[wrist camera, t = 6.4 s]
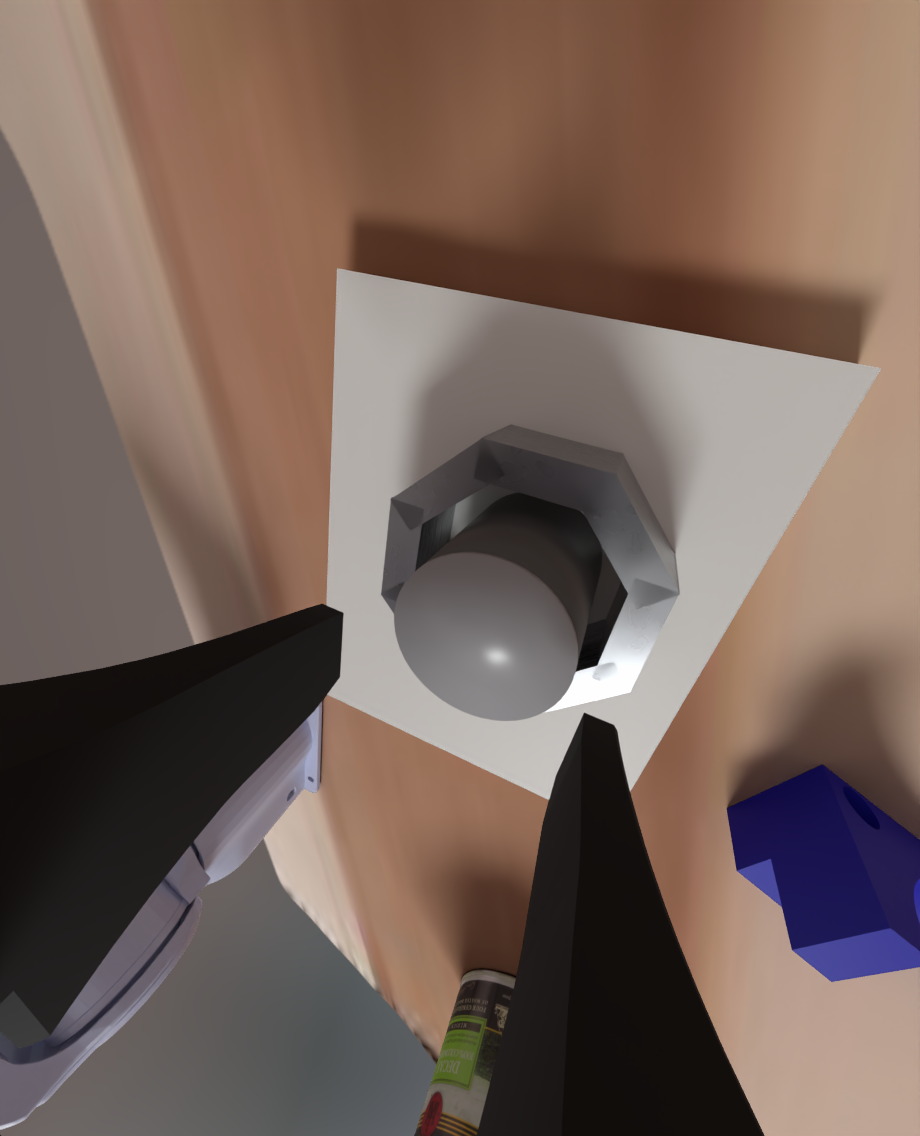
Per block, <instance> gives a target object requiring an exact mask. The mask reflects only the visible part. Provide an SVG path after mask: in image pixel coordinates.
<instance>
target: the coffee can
mask: <svg viewBox="0 0 920 1136" xmlns="http://www.w3.org/2000/svg"><path fill="white" fill-rule="evenodd" d="M515 981H516V977H513V976H511V975H508V974H504V973H501V972H496V971H491V970H473V971H470V972H468V973H466V974H465V975H464V976H463V978H462V980H461V984H460V990H459V993H458V996H457V1000H456V1003H455V1006H454V1010H453V1013H452V1016H451V1019H450V1022H449V1026H448V1029H447V1033H446V1036H445V1039H444V1042H443V1045H442V1049H441V1052H440V1056H439V1059H438V1062H437V1065H436V1069H435V1072H434V1075H433V1078H432V1081H431V1085H430V1088H429V1091H428V1094H427V1097H426V1101H425V1104H424V1107H423V1111H422V1114H421V1117H420V1120H419V1123H418V1126H417V1130H416V1133H415V1135H414V1136H476V1135H477V1132H478V1128H479V1124H480V1120H481V1116H482V1112H483V1108H484V1104H485V1100H486V1097H487V1093H488V1089H489V1085H490V1081H491V1077H492V1073H493V1069H494V1065H495V1061H496V1057H497V1053H498V1049H499V1045H500V1041H501V1037H502V1033H503V1029H504V1025H505V1021H506V1017H507V1013H508V1009H509V1005H510V1001H511V997H512V993H513V989H514V985H515Z"/></svg>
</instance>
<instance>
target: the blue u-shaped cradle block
mask: <svg viewBox="0 0 920 1136" xmlns="http://www.w3.org/2000/svg"><path fill="white" fill-rule="evenodd" d="M727 813H728V819H729V826H730V832H731V838H732V844H733V850H734V856H735V863H736V869H737V871H738V872H739V873H740V874H741V875H743V876H744V877H745V878H746V879H748V880H749V881H750V882H751V883H753V884H754V885H755V886H756V887H758V888H759V889H760V890H761V891H763V892H764V893H765V894H766V895H768V896H769V897H770V898H771V899H773V900H774V901H775V902H776V903H778V904H779V905H780V906H781V907H782V909H783V913H784V918H785V922H786V926H787V930H788V935H789V939H790V943H791V948H792V950H793V951H794V952H795V953H796V954H798V955H799V956H800V957H801V958H803V959H804V960H805V961H806V962H808V963H809V964H810V965H811V966H813V967H814V968H815V969H816V970H818V971H819V972H820V973H821V974H822V975H824V976H825V977H826V978H827V979H829V980H830V981H831V982H834V981H839V980H845V979H851V978H857V977H863V976H869V975H875V974H881V973H887V972H893V971H899V970H905V969H911V968H916V967H920V840H919V839H918V838H916V837H915V836H914V835H913V834H911V833H910V832H909V831H907V830H906V829H905V828H904V827H902V826H901V825H900V824H898V823H897V822H896V821H895V820H893V819H892V818H891V817H889V816H888V815H887V814H886V813H884V812H883V811H882V810H880V809H879V808H878V807H877V806H875V805H874V804H873V803H871V802H870V801H869V800H868V799H866V798H865V797H864V796H862V795H861V794H860V793H859V792H857V791H856V790H855V789H853V788H852V787H851V786H850V785H848V784H847V783H846V782H844V781H843V780H842V779H841V778H839V777H838V776H837V775H835V774H834V773H833V772H832V771H830V770H829V769H828V768H826V767H825V766H824V765H823V764H822V765H820V766H818V767H816V768H814V769H811V770H809V771H807V772H805V773H803V774H801V775H798V776H796V777H794V778H792V779H790V780H787V781H785V782H783V783H781V784H779V785H776V786H774V787H772V788H770V789H768V790H766V791H763V792H761V793H759V794H757V795H755V796H752V797H750V798H748V799H746V800H744V801H741V802H739V803H737V804H735V805H733V806H731V807H728V808H727Z"/></svg>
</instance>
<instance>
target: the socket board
mask: <svg viewBox="0 0 920 1136" xmlns="http://www.w3.org/2000/svg"><path fill="white" fill-rule="evenodd" d="M880 370H881V368H877V367H872V366H866V365H861V364H855V363H850V362H844V361H839V360H834V359H828V358H823V357H817V356H812V355H806V354H801V353H795V352H790V351H785V350H779V349H774V348H768V347H763V346H757V345H752V344H746V343H741V342H735V341H730V340H725V339H719V338H714V337H708V336H703V335H697V334H692V333H686V332H681V331H676V330H670V329H665V328H659V327H654V326H648V325H643V324H637V323H632V322H626V321H621V320H616V319H610V318H605V317H599V316H594V315H588V314H583V313H577V312H572V311H567V310H561V309H556V308H550V307H545V306H539V305H534V304H528V303H523V302H517V301H512V300H507V299H501V298H496V297H490V296H485V295H479V294H474V293H468V292H463V291H458V290H452V289H447V288H441V287H436V286H430V285H425V284H419V283H414V282H409V281H403V280H398V279H392V278H387V277H381V276H376V275H370V274H365V273H359V272H354V271H349V270H343V269H338V268H337V290H336V321H335V353H334V385H333V417H332V449H331V481H330V513H329V544H328V576H327V606H329V607H331V608H334V609H336V610H338V611H341V612H343V613H344V615H343V633H342V651H341V669H340V678H339V679H338V680H337V682H336V683H335V685H334V686H333V687H332V689H331V690H330V691H329V693H328V694H327V695H329V696H331V697H333V698H336V699H338V700H340V701H342V702H344V703H346V704H348V705H350V706H352V707H355V708H357V709H359V710H361V711H363V712H365V713H367V714H369V715H371V716H373V717H376V718H378V719H380V720H382V721H384V722H386V723H388V724H390V725H392V726H394V727H397V728H399V729H401V730H403V731H405V732H407V733H409V734H411V735H413V736H416V737H418V738H420V739H422V740H424V741H426V742H428V743H430V744H432V745H434V746H437V747H439V748H441V749H443V750H445V751H447V752H449V753H451V754H453V755H455V756H458V757H460V758H462V759H464V760H466V761H468V762H470V763H472V764H474V765H477V766H479V767H481V768H483V769H485V770H487V771H489V772H491V773H493V774H495V775H498V776H500V777H502V778H504V779H506V780H508V781H510V782H512V783H514V784H516V785H519V786H521V787H523V788H525V789H527V790H529V791H531V792H533V793H535V794H537V795H540V796H542V797H544V798H546V799H548V800H549V799H550V795H551V791H552V788H553V784H554V781H555V777H556V774H557V772H558V770H559V768H560V765H561V763H562V761H563V759H564V756H565V754H566V752H567V750H568V747H569V745H570V743H571V741H572V738H573V736H574V734H575V732H576V729H577V727H578V725H579V723H580V720H581V718H582V716H583V714H584V713H587V714H589V715H591V716H594V717H596V718H599V719H601V720H603V721H606V722H608V723H611V724H613V725H614V726H615V727H616V729H617V731H618V738H619V744H620V749H621V754H622V759H623V764H624V769H625V773H626V777H627V781H628V786H629V790H630V791H631V789H632V788H633V786H634V784H635V783H636V781H637V779H638V778H639V776H640V774H641V773H642V771H643V769H644V768H645V766H646V764H647V762H648V761H649V759H650V757H651V756H652V754H653V752H654V751H655V749H656V747H657V746H658V744H659V742H660V741H661V739H662V737H663V736H664V734H665V732H666V730H667V729H668V727H669V725H670V724H671V722H672V720H673V719H674V717H675V715H676V714H677V712H678V710H679V709H680V707H681V705H682V703H683V702H684V700H685V698H686V697H687V695H688V693H689V692H690V690H691V688H692V687H693V685H694V683H695V682H696V680H697V678H698V677H699V675H700V673H701V671H702V670H703V668H704V666H705V665H706V663H707V661H708V660H709V658H710V656H711V655H712V653H713V651H714V650H715V648H716V646H717V644H718V643H719V641H720V639H721V638H722V636H723V634H724V633H725V631H726V629H727V628H728V626H729V624H730V623H731V621H732V619H733V618H734V616H735V614H736V612H737V611H738V609H739V607H740V606H741V604H742V602H743V601H744V599H745V597H746V596H747V594H748V592H749V591H750V589H751V587H752V586H753V584H754V582H755V580H756V579H757V577H758V575H759V574H760V572H761V570H762V569H763V567H764V565H765V564H766V562H767V560H768V559H769V557H770V555H771V553H772V552H773V550H774V548H775V547H776V545H777V543H778V542H779V540H780V538H781V537H782V535H783V533H784V532H785V530H786V528H787V527H788V525H789V523H790V521H791V520H792V518H793V516H794V515H795V513H796V511H797V510H798V508H799V506H800V505H801V503H802V501H803V500H804V498H805V496H806V495H807V493H808V491H809V489H810V488H811V486H812V484H813V483H814V481H815V479H816V478H817V476H818V474H819V473H820V471H821V469H822V468H823V466H824V464H825V462H826V461H827V459H828V457H829V456H830V454H831V452H832V451H833V449H834V447H835V446H836V444H837V442H838V441H839V439H840V437H841V436H842V434H843V432H844V430H845V429H846V427H847V425H848V424H849V422H850V420H851V419H852V417H853V415H854V414H855V412H856V410H857V409H858V407H859V405H860V403H861V402H862V400H863V398H864V397H865V395H866V393H867V392H868V390H869V388H870V387H871V385H872V383H873V382H874V380H875V378H876V377H877V375H878V373H879V371H880ZM518 492H519V493H523V494H526V495H529V496H533V497H536V498H539V499H543V500H546V501H549V502H553V503H556V504H559V505H563V506H566V507H569V508H573V509H576V510H579V511H581V512H582V513H583V514H584V515H585V517H586V518H587V520H588V522H589V524H590V526H591V527H592V529H593V531H594V533H595V535H596V536H597V538H598V540H599V542H600V545H601V551H602V566H601V572H600V576H599V580H598V584H597V588H596V592H595V596H594V600H593V604H592V608H591V612H590V616H589V620H588V624H587V628H586V632H585V636H584V640H583V644H582V648H581V652H580V656H579V660H578V664H577V668H576V672H575V675H574V678H573V681H572V683H571V685H570V687H569V689H568V691H567V692H566V694H565V695H564V696H563V698H562V699H561V700H560V701H559V702H558V703H557V704H556V705H554V706H553V707H552V708H550V709H549V710H547V711H546V712H544V713H541V714H539V715H537V716H534V717H531V718H528V719H523V720H517V721H496V720H489V719H484V718H480V717H476V716H473V715H470V714H468V713H465V712H463V711H460V710H458V709H456V708H454V707H452V706H451V705H449V704H447V703H446V702H444V701H443V700H441V699H440V698H438V697H437V696H436V695H435V694H433V693H432V692H431V691H430V690H429V689H428V688H427V687H425V686H424V685H423V683H422V682H421V681H420V680H419V679H418V678H417V677H416V675H415V674H414V673H413V671H412V670H411V669H410V667H409V666H408V664H407V662H406V661H405V659H404V657H403V655H402V652H401V650H400V648H399V645H398V642H397V638H396V634H395V627H394V610H395V605H396V601H397V598H398V595H399V592H400V590H401V589H402V587H403V585H404V583H405V582H406V581H407V580H408V578H409V577H410V576H411V575H412V574H413V573H414V572H415V571H417V570H418V569H419V568H420V567H421V566H422V565H423V564H424V563H426V562H427V561H428V560H429V559H430V558H431V557H432V556H433V555H435V554H436V553H437V552H438V551H439V550H440V549H441V548H442V547H444V546H445V545H446V544H447V543H448V542H449V541H450V540H451V539H453V538H454V537H455V536H456V535H457V534H458V533H459V532H460V531H462V530H463V529H464V528H465V527H466V526H467V525H468V524H469V523H471V522H472V521H473V520H474V519H475V518H476V517H477V516H478V515H480V514H481V513H482V512H483V511H484V510H485V509H486V508H487V507H489V506H490V505H491V504H492V503H494V502H495V501H497V500H498V499H500V498H502V497H504V496H507V495H510V494H513V493H518Z"/></svg>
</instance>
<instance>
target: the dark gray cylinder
mask: <svg viewBox="0 0 920 1136" xmlns="http://www.w3.org/2000/svg"><path fill="white" fill-rule="evenodd" d="M601 566H602V551H601V545H600V542H599V540H598V538H597V536H596V535H595V533H594V531H593V529H592V527H591V526H590V524H589V522H588V520H587V518H586V517H585V515H584V514H583V513H582V512H581V511H579V510H576V509H573V508H569V507H566V506H563V505H559V504H556V503H553V502H549V501H546V500H543V499H539V498H536V497H533V496H529V495H526V494H523V493H519V492H518V493H513V494H510V495H507V496H504V497H502V498H500V499H498V500H497V501H495V502H494V503H492V504H491V505H490V506H489V507H487V508H486V509H485V510H484V511H483V512H482V513H481V514H480V515H478V516H477V517H476V518H475V519H474V520H473V521H472V522H471V523H469V524H468V525H467V526H466V527H465V528H464V529H463V530H462V531H460V532H459V533H458V534H457V535H456V536H455V537H454V538H453V539H451V540H450V541H449V542H448V543H447V544H446V545H445V546H444V547H442V548H441V549H440V550H439V551H438V552H437V553H436V554H435V555H433V556H432V557H431V558H430V559H429V560H428V561H427V562H426V563H424V564H423V565H422V566H421V567H420V568H419V569H418V570H417V571H415V572H414V573H413V574H412V575H411V576H410V577H409V578H408V580H407V581H406V582H405V583H404V585H403V587H402V589H401V590H400V592H399V595H398V598H397V601H396V605H395V610H394V627H395V634H396V638H397V642H398V645H399V648H400V650H401V652H402V655H403V657H404V659H405V661H406V662H407V664H408V666H409V667H410V669H411V670H412V671H413V673H414V674H415V675H416V677H417V678H418V679H419V680H420V681H421V682H422V683H423V685H424V686H425V687H427V688H428V689H429V690H430V691H431V692H432V693H433V694H435V695H436V696H437V697H438V698H440V699H441V700H443V701H444V702H446V703H447V704H449V705H451V706H452V707H454V708H456V709H458V710H460V711H463V712H465V713H468V714H470V715H473V716H476V717H480V718H484V719H489V720H496V721H517V720H523V719H528V718H531V717H534V716H537V715H539V714H541V713H544V712H546V711H547V710H549V709H550V708H552V707H553V706H554V705H556V704H557V703H558V702H559V701H560V700H561V699H562V698H563V696H564V695H565V694H566V692H567V691H568V689H569V687H570V685H571V683H572V681H573V678H574V675H575V672H576V668H577V664H578V660H579V656H580V652H581V648H582V644H583V640H584V636H585V632H586V628H587V624H588V620H589V616H590V612H591V608H592V604H593V600H594V596H595V592H596V588H597V584H598V580H599V576H600V572H601Z"/></svg>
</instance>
